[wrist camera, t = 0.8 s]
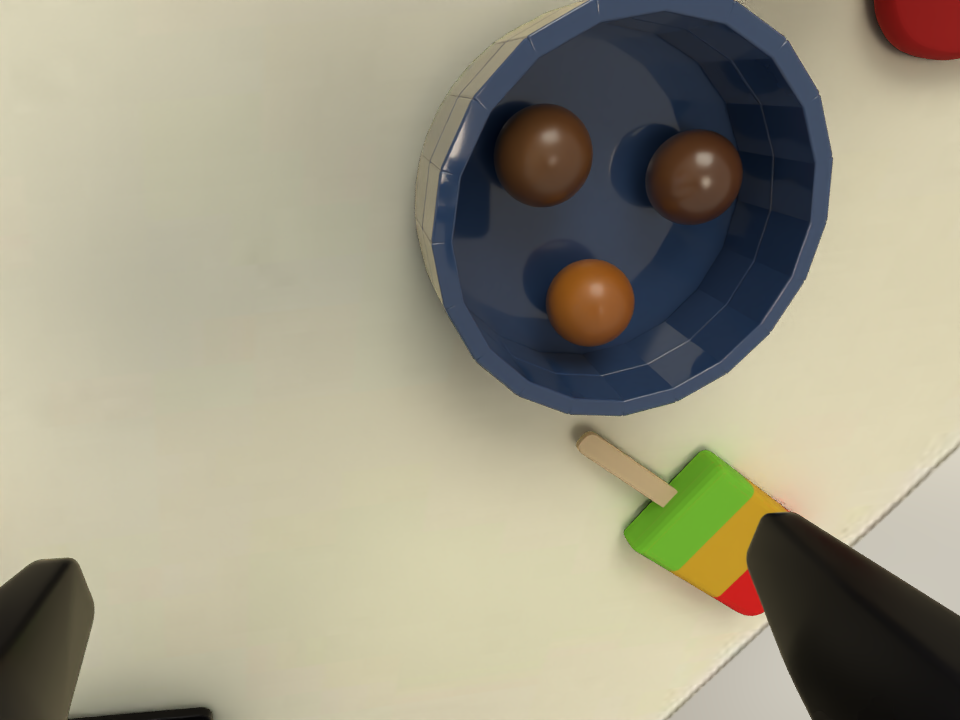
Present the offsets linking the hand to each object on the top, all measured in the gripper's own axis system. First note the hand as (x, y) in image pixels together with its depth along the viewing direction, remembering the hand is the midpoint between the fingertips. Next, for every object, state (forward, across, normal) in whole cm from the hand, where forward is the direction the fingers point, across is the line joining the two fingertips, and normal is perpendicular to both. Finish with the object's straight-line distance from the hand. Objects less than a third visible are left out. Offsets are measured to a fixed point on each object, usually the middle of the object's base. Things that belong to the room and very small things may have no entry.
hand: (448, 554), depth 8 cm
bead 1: (+13, -4, -2) cm, 14 cm away
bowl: (+15, -6, 0) cm, 16 cm away
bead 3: (+13, -9, -2) cm, 16 cm away
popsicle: (+14, -13, +13) cm, 23 cm away
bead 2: (+13, -6, +2) cm, 14 cm away
